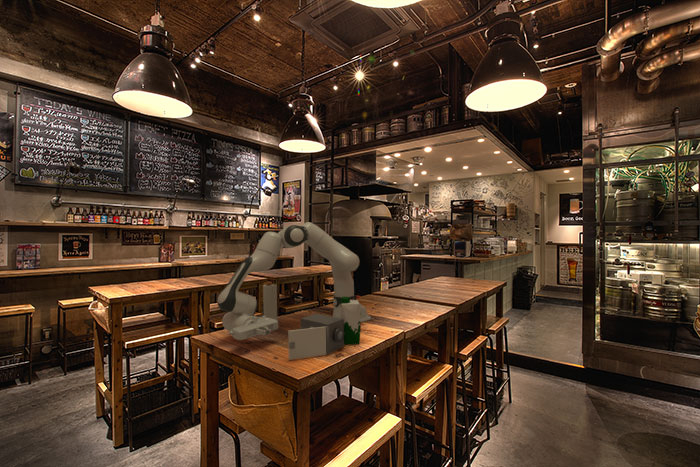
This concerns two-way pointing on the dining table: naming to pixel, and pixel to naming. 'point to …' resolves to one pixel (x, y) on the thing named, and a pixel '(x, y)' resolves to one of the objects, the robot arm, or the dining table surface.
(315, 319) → the box
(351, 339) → the milk carton
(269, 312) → the paper towel roll
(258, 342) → the dining table surface
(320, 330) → the side door
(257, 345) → the dining table surface
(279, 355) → the dining table surface
